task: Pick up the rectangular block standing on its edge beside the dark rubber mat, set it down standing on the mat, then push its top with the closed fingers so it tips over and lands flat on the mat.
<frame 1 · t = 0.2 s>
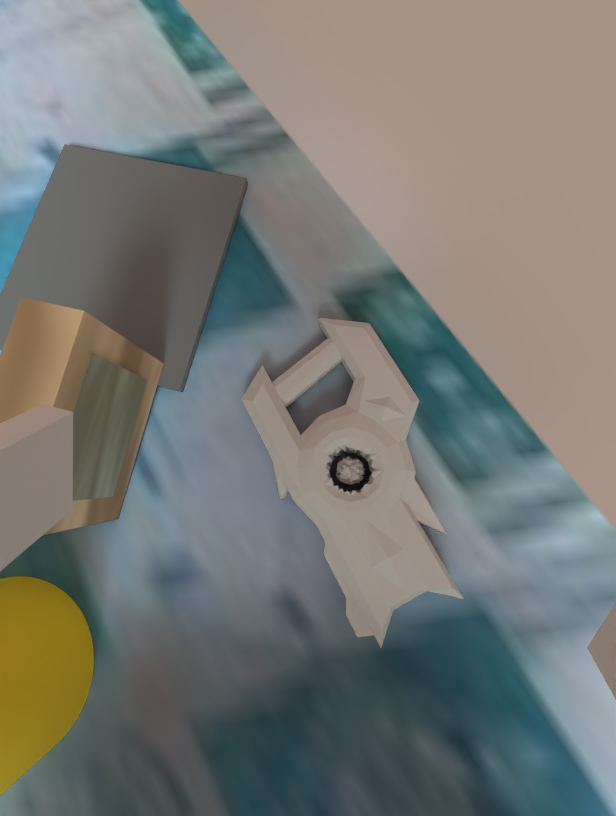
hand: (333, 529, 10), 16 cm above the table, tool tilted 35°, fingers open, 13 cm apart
mat: (121, 262, 30), on the table
yellow paper roll: (10, 667, 25), on the table
light grey toy spaceship: (354, 463, 27), on the table
rectangular block: (119, 433, 27), on the table, touching mat
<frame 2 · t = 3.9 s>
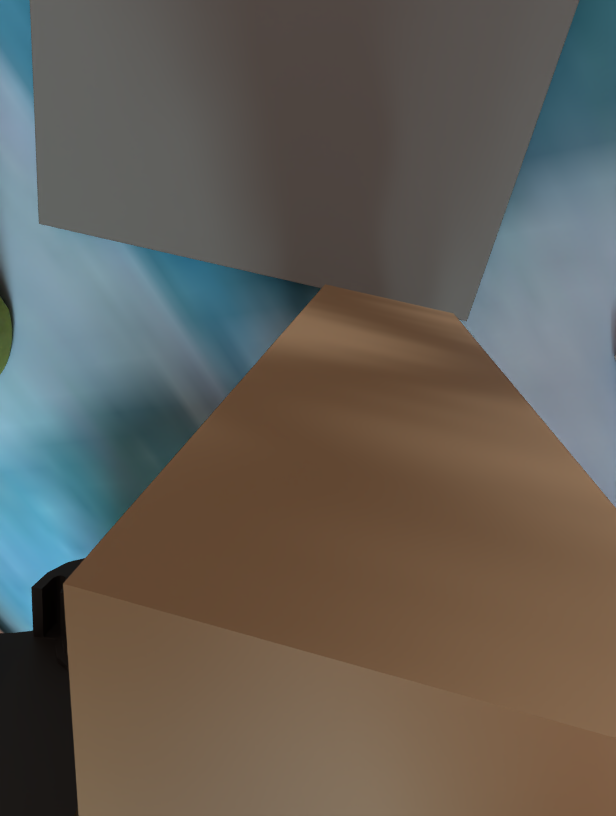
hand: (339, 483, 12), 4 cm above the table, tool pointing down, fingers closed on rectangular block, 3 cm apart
rectangular block: (339, 477, 12), point 4 cm above the table, touching gripper
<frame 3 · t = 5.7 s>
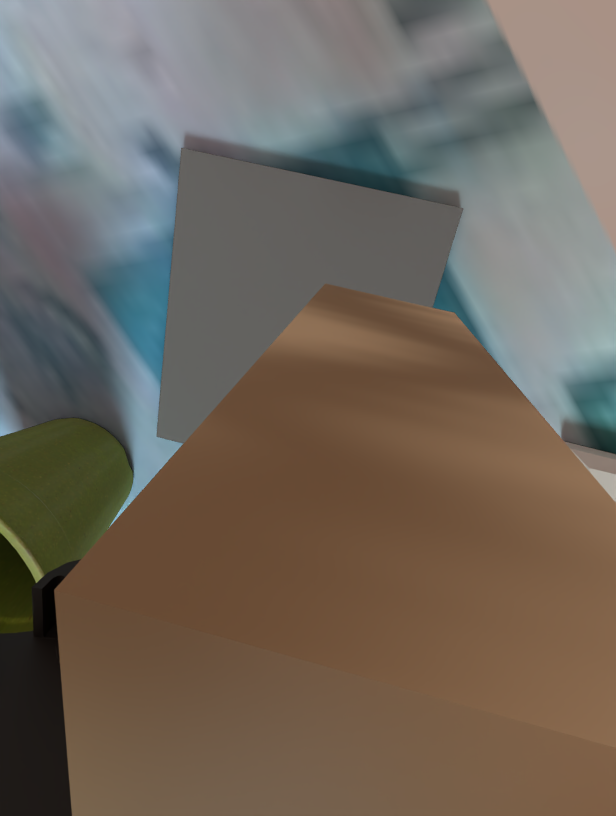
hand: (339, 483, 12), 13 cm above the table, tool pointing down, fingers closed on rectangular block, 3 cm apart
mat: (290, 336, 24), on the table
light grey toy spaceship: (557, 569, 27), on the table
plant pot: (88, 465, 29), on the table
rectangular block: (339, 477, 12), point 13 cm above the table, touching gripper
when the fingers open (1 cm above the table, at t = 7.9 s): rectangular block stays where it is, resting on mat.
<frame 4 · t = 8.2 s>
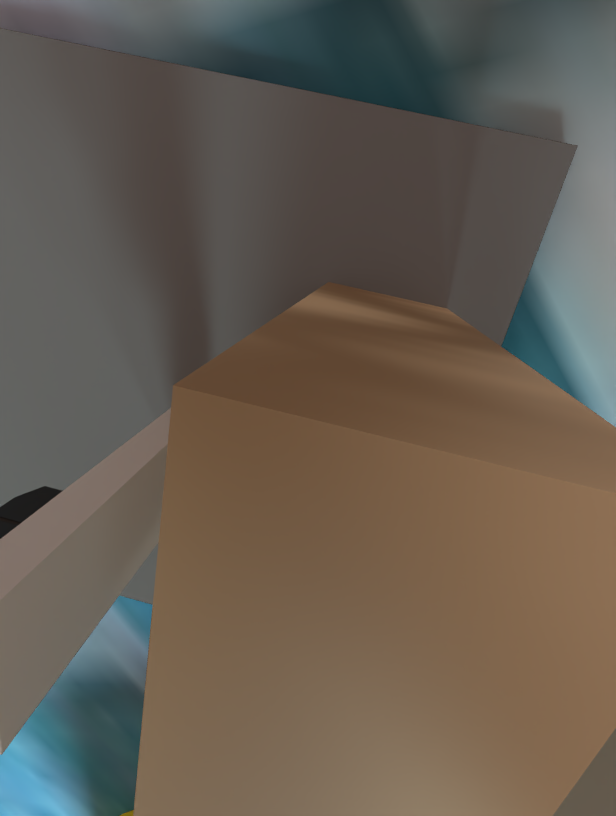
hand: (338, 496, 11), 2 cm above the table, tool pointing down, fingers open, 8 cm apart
mat: (221, 403, 13), on the table
rectangular block: (341, 468, 12), point 1 cm above the table, touching mat
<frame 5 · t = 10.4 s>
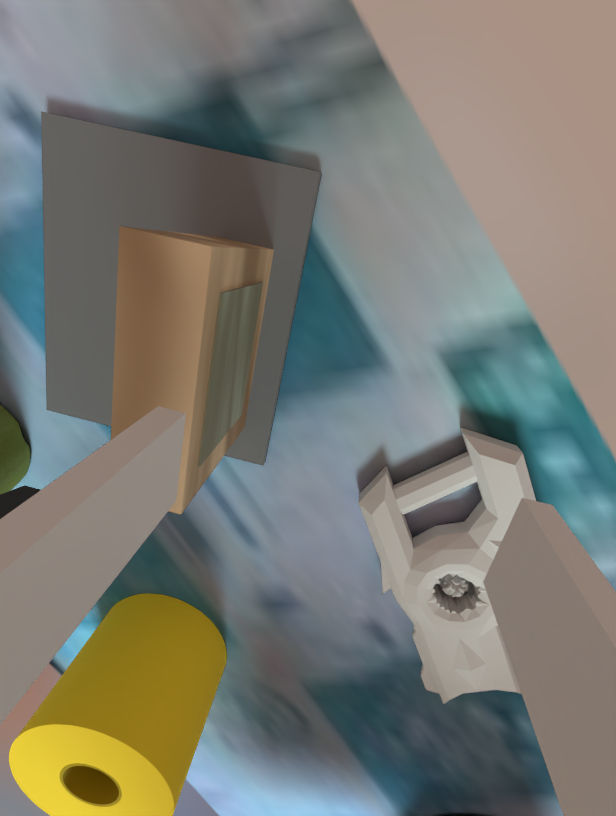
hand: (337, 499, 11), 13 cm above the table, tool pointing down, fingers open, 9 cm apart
mat: (169, 306, 24), on the table
yellow paper roll: (165, 642, 33), on the table
light grey toy spaceship: (457, 557, 27), on the table
rectangular block: (231, 339, 23), point 1 cm above the table, touching mat
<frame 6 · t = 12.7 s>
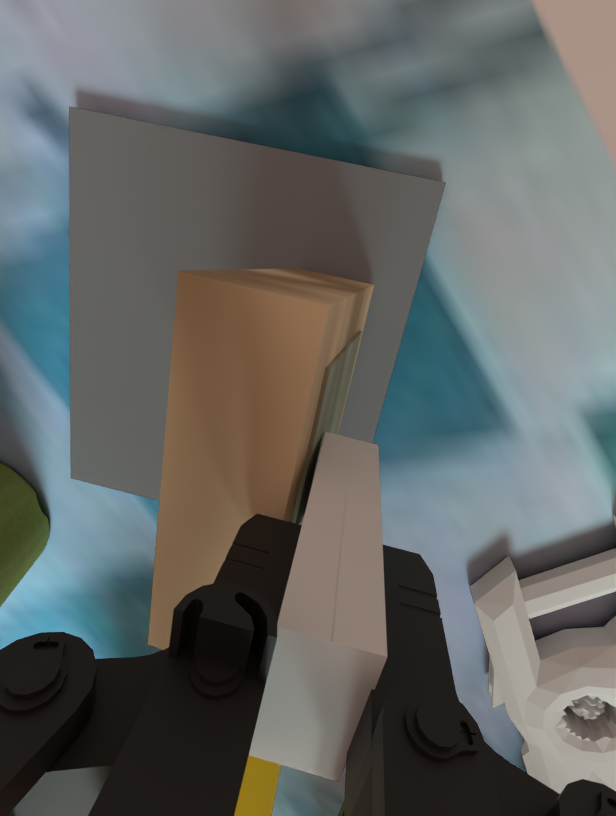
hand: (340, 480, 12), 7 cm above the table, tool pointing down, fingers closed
mat: (228, 353, 19), on the table
yellow paper roll: (208, 737, 28), on the table
light grey toy spaceship: (580, 660, 22), on the table
rectangular block: (310, 397, 18), point 1 cm above the table, tilted 6°, touching gripper, mat
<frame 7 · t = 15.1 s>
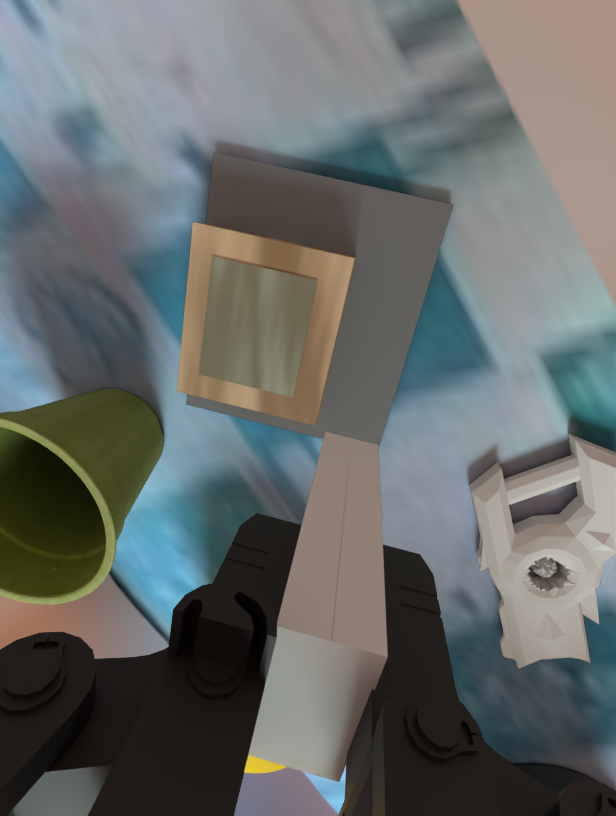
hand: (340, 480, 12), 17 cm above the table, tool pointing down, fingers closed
mat: (304, 315, 28), on the table
yellow paper roll: (267, 610, 37), on the table
light grey toy spaceship: (543, 544, 32), on the table
plant pot: (123, 431, 33), on the table
rectangular block: (335, 342, 26), point 2 cm above the table, tilted 90°, touching mat
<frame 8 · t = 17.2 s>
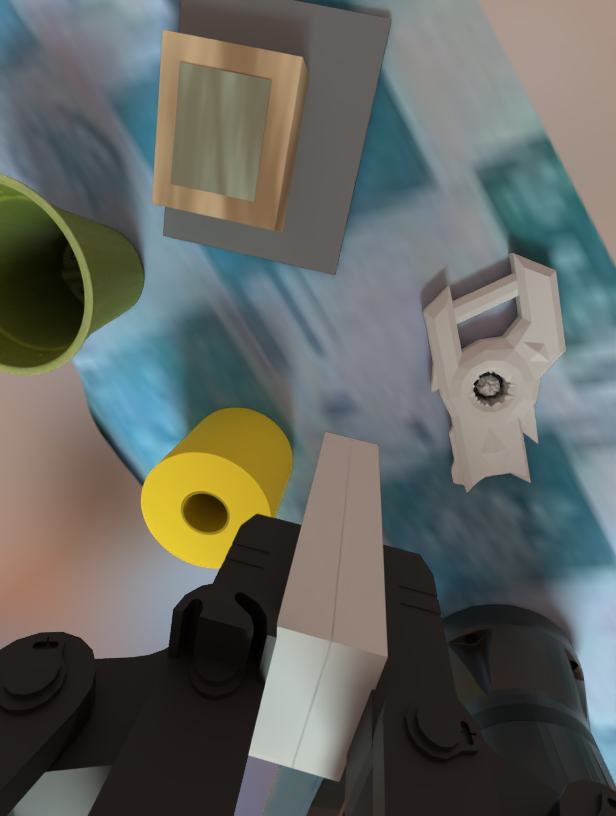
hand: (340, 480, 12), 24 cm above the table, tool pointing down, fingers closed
mat: (266, 141, 31), on the table
yellow paper roll: (241, 456, 40), on the table
light grey toy spaceship: (490, 374, 35), on the table
plant pot: (108, 273, 36), on the table
rectangular block: (291, 154, 29), point 2 cm above the table, tilted 90°, touching mat
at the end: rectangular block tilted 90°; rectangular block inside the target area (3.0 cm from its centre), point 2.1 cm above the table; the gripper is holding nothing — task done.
